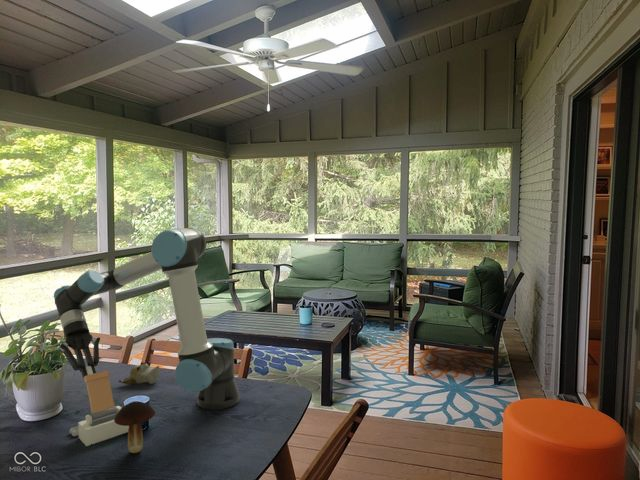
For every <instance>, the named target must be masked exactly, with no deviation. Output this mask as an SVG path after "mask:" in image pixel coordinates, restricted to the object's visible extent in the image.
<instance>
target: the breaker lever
mask: <svg viewBox="0 0 640 480" xmlns="http://www.w3.org/2000/svg"><path fill="white" fill-rule="evenodd" d="M109 376H111V375H110V372H109V369H108V370H104V371H100V372H96V373H94V374H90V375H86V376H85V377H84V378H83V380H84V383H85V386H86V390H87V394H88V395H87V396H88V400H89V406H90V411H91V413H90V416H91V417H92V420H95V419H98V418H101V417H105V416H108V415H111V414H114V413H117V408H116V405H115V402H114V396H113V392H112V388H111V381H110V378H109Z"/></svg>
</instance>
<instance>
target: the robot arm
mask: <svg viewBox="0 0 640 480" xmlns="http://www.w3.org/2000/svg"><path fill="white" fill-rule="evenodd" d="M151 243H152V244H151V251H150V252H148V253H145V254H143V255H140V256H139V257H136V258H134V259H131V260H128V261H127V262H125V263H123V264H121V265H118V266H116V267H114V268H112V269H110V270H107V271H103V272H99V271H97V270H93V269H88V270H86V271H85V272H84V273H82V274H81V275H80V276H78V278H77V279H76V280H75V281H74V282H73V283H72V284H71V285H67V284H66V285H63V286H61V287H59V288H56V289H55V291H54V293H53V298H54V305H55V307H56V309H57V313H58V316H59V320H60V323H61V327H62V331H63V334H64V338H65V341H64V343H61V344H60V346H59V348H58V350H59V351H60V352H61V353H63V355H64V356H65V358H66V360H67V361H68V363H69V364H70V365H71V367H72V369H73V370H74V371H75V372H76V371H77V372H78V371H79V372H80V373H81V376H82V378H83V379H84V377H85V376H86V375H90V374H94V373H97V371H96V368H95V367H97V366H98V364H99V362H100V341H101V337H97V338H96V337H94V336H93V335H92V334H91V333H90V330H89V327H88V323H87V320H86V317H85V316H86V315H85V313H84V310H83V307H82V305H84V304H86V302H87V301H88V300H90V299H91V298H92V297H93V296H97V295H102V294H105V293H108V292H111V291H112V292H113V291H117V290H120V289H122V288H123V287H124V286H125V285H128V284H131V283H133V282H135V281H138V280H140V279H142V278H144V277H146V276H149V275H151V274H153V273H156V272H158V271H161V272H162V273H163V274H165V276H167V278H168V283H169V287H170V293H171V299H172V304H173V309H174V315H175V320H176V327H177V329H178V330H177V331H178V335H179V341H180V349H179V350H178V351H177V356H178V364H177V365H176V367H175V368H174V369H175V370H174V377H175V381H176V383H177V384H178V386H180V388H182V389H183V390H184V391H186V392H189V393H198V394H197V396H196V400H197V401H196V403H197V406H198V407H199V408H201V409H205V410H213V411H215V410H224V409H228V408H231V407H233V406H235V405H237V404H238V403H239V402H240V391H239V389H238V386H237V384H236V380H235V347H234V346H235V345H234V341H233V340H232V339H229V338H222V337H220V338H219V337H213V338H212V337H211V338H208V336H207V331H206V326H205V319H204V315H203V309H202V305H201V299H200V293H199V288H198V284H197V278H196V277H197V276H196V269H197V268H198V266H199V263H198V259H199V258H201V257H202V256H203V255H204V253H205V251H206V249H207V240H206V237H205V235H204V233H202V232H201V231H200V230H199V229H196V228H195V227H194V228H193V227H183V228H179V227H178V228H170V229H166V230H163V231H160V232H159V233H158V234H157V235H156V236H155V237H154V239H153V240H152V242H151ZM91 343H92V345H93V349H92V350H93V356H92V353H91V350H90V344H91ZM70 349H71V350H73V352H74V354H75V356H74V354H73V353H72V351H71V350H70ZM85 361H86V362H85ZM86 364H87V366H86Z"/></svg>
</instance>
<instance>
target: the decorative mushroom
mask: <svg viewBox="0 0 640 480" xmlns="http://www.w3.org/2000/svg"><path fill="white" fill-rule="evenodd" d="M121 408H122V409H121V410H120V411H119V412H118V413H117V415H116V417H115V420H114V422H115V423H116V424H118V425H122V426H129V429H128V432H127V449H128V451H129V452H130V453H131V454H137V453H140V452H141V451H142V449H143V448H144V437H143V436H144V435H143V427H142V423H143V422H147V421H149V420H151V419H153V417H154V416H155V414H156V412H155V410H154V409H153V408H154V407H152V406H151V405H149V404H147V403H146V402H143V401H138V400H137V401H136V400H135V401H131V402H129V403H127V404H125V405H124V406H122V407H121Z"/></svg>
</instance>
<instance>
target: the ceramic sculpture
mask: <svg viewBox="0 0 640 480" xmlns="http://www.w3.org/2000/svg"><path fill="white" fill-rule="evenodd" d="M129 373H130V374H129V376H128V377H124V378H123V379H121V380H118V382H119V383H121V384H125V385H132V384H144V383H148V384H150V385H153V384H155V383H156V382H157V381H158V377H159V375H160V366H159V365H155V366H149V364H148V363H146V362H144V361H143V362H141V363H140V364H137V365H135V366H133V367H132V368H131V370H130V372H129Z"/></svg>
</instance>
